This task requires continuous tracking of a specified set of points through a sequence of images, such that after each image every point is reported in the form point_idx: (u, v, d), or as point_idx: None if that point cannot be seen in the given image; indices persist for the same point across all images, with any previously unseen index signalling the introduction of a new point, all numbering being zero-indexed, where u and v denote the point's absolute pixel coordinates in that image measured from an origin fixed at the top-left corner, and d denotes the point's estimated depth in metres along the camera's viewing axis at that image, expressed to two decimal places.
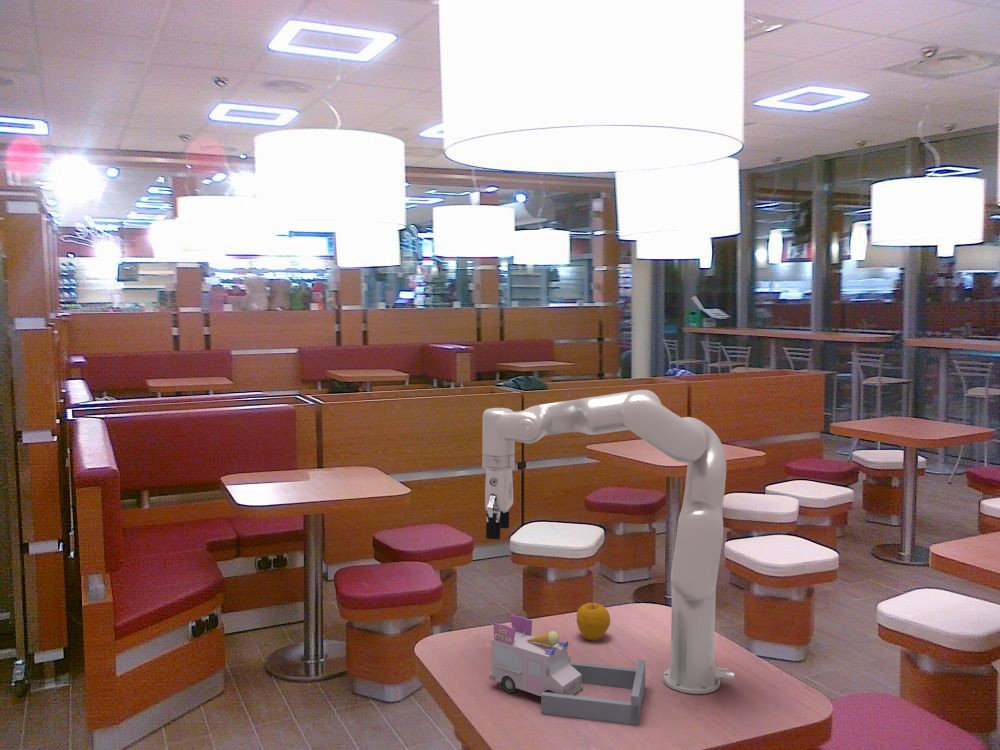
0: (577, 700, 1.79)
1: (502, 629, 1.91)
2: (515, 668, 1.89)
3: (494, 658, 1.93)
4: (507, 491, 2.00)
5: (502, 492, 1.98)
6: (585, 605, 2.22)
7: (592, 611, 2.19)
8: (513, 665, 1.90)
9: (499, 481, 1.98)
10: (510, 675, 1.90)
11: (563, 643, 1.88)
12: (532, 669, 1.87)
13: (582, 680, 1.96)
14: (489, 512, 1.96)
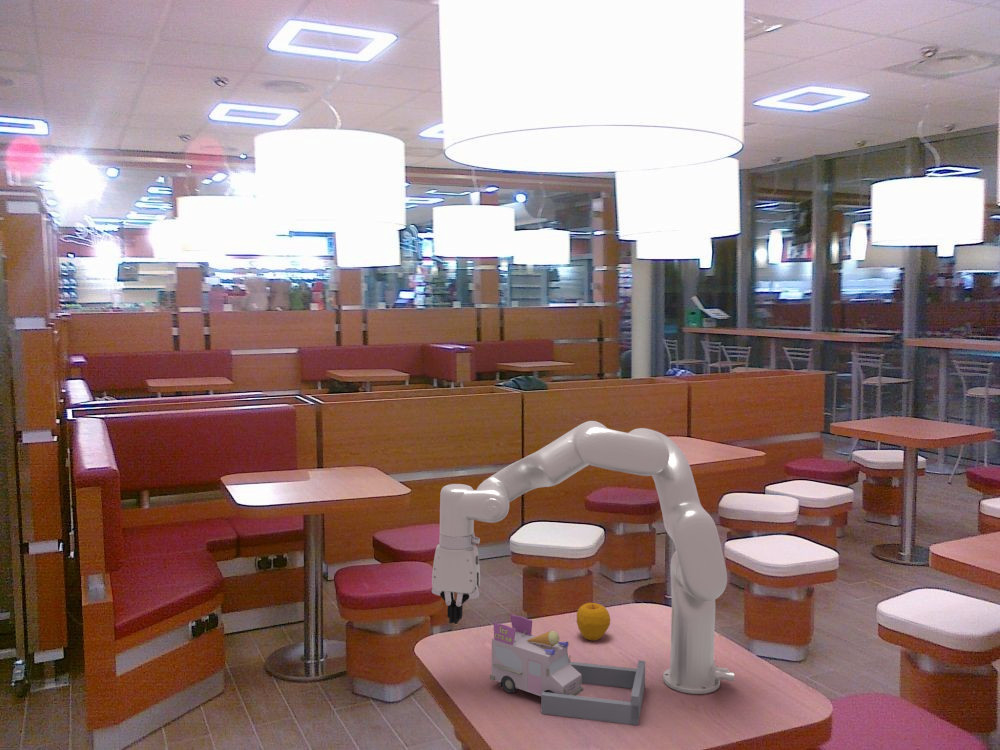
0: (577, 700, 1.79)
1: (502, 629, 1.91)
2: (515, 668, 1.89)
3: (494, 658, 1.93)
4: None
5: (479, 567, 1.94)
6: (585, 605, 2.22)
7: (592, 611, 2.19)
8: (513, 665, 1.90)
9: (478, 557, 1.93)
10: (510, 675, 1.90)
11: (563, 643, 1.88)
12: (532, 669, 1.87)
13: (582, 680, 1.96)
14: None
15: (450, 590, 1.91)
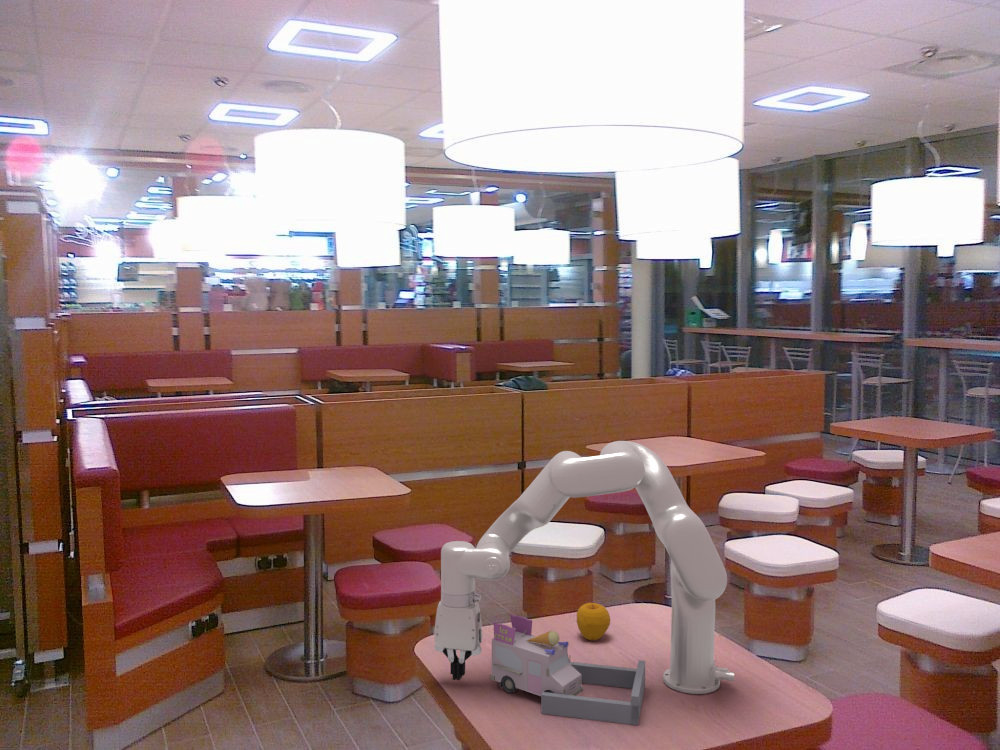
0: (577, 700, 1.79)
1: (502, 629, 1.91)
2: (515, 668, 1.89)
3: (494, 658, 1.93)
4: None
5: (481, 623, 1.95)
6: (585, 605, 2.22)
7: (592, 611, 2.19)
8: (513, 665, 1.90)
9: (480, 614, 1.94)
10: (510, 675, 1.90)
11: (563, 643, 1.88)
12: (532, 669, 1.87)
13: (582, 680, 1.96)
14: None
15: (453, 647, 1.93)
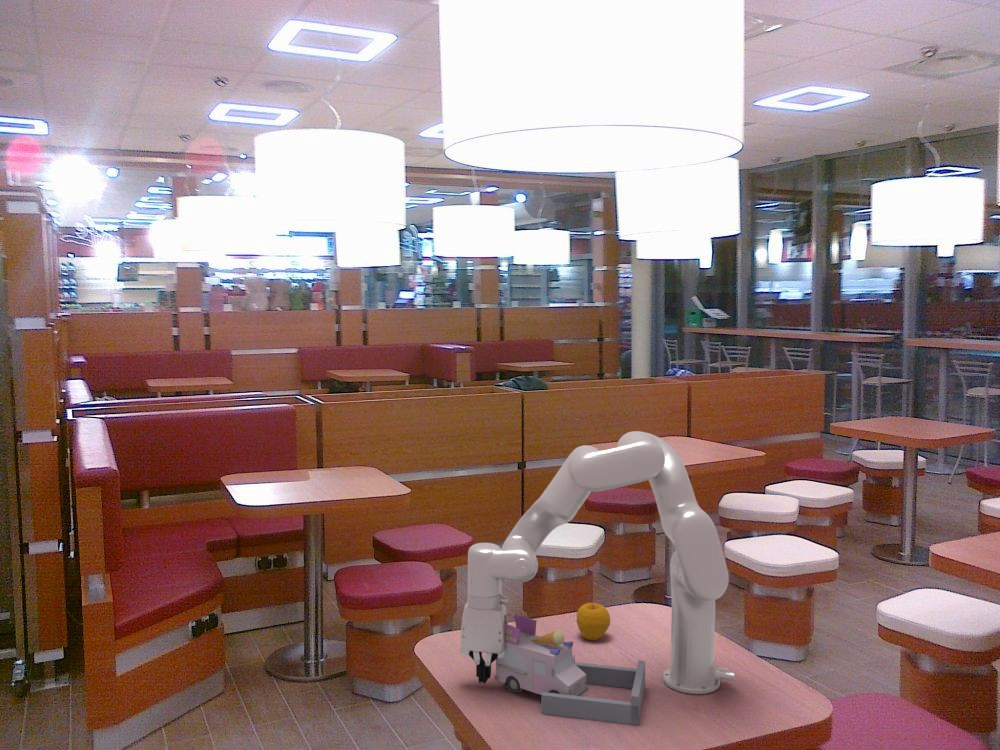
0: (577, 700, 1.79)
1: (507, 629, 1.91)
2: (520, 668, 1.89)
3: (498, 658, 1.92)
4: None
5: None
6: (585, 605, 2.22)
7: (592, 611, 2.19)
8: (518, 666, 1.89)
9: (506, 616, 1.92)
10: (515, 675, 1.90)
11: (568, 643, 1.88)
12: (537, 669, 1.86)
13: None
14: None
15: (479, 650, 1.91)
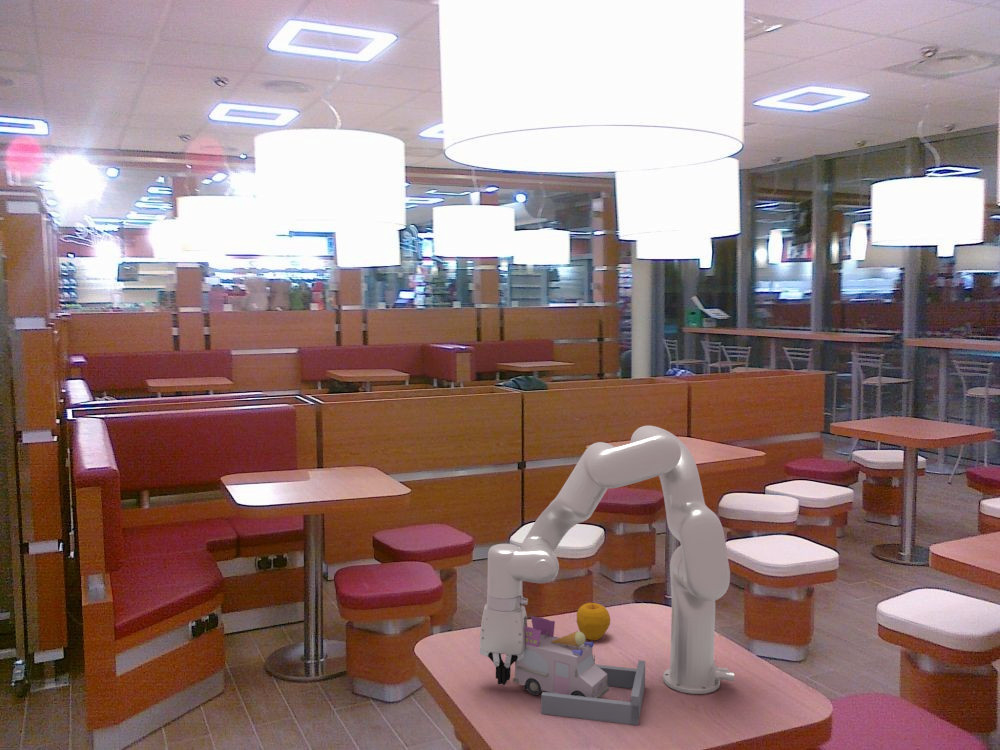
0: (577, 700, 1.79)
1: (526, 631, 1.90)
2: (541, 670, 1.88)
3: (518, 661, 1.91)
4: None
5: None
6: (585, 605, 2.22)
7: (592, 611, 2.19)
8: (538, 667, 1.88)
9: (526, 618, 1.91)
10: (535, 677, 1.89)
11: (589, 643, 1.88)
12: (559, 670, 1.86)
13: None
14: None
15: (498, 651, 1.90)
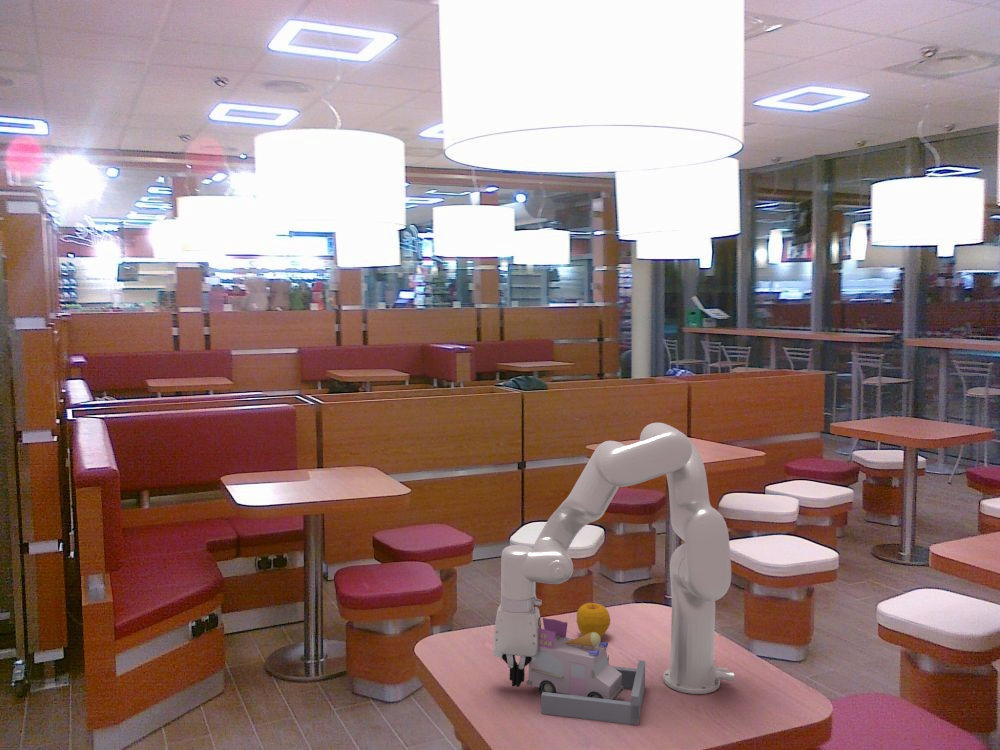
0: (577, 700, 1.79)
1: (541, 633, 1.89)
2: (556, 672, 1.87)
3: (532, 663, 1.90)
4: None
5: None
6: (585, 605, 2.22)
7: (592, 611, 2.19)
8: (553, 669, 1.88)
9: (540, 619, 1.91)
10: (550, 679, 1.88)
11: (603, 644, 1.88)
12: (574, 672, 1.85)
13: None
14: None
15: (512, 653, 1.89)
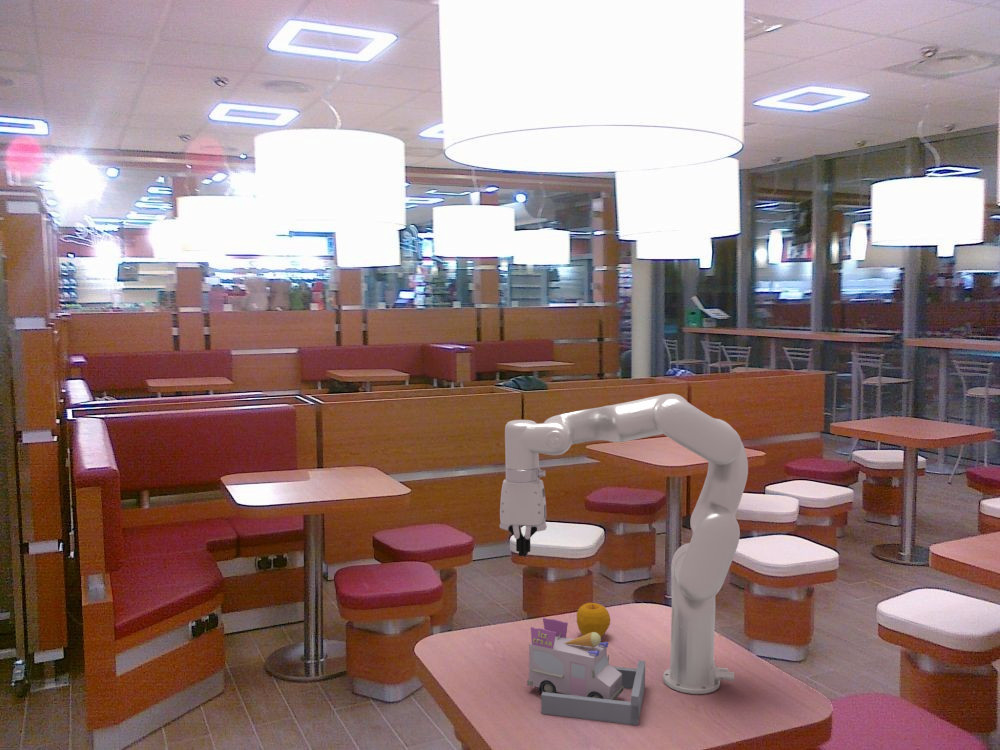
0: (577, 700, 1.79)
1: (541, 633, 1.89)
2: (556, 672, 1.87)
3: (532, 663, 1.90)
4: None
5: None
6: (585, 605, 2.22)
7: (592, 611, 2.19)
8: (554, 669, 1.88)
9: (544, 490, 1.97)
10: (550, 679, 1.88)
11: (603, 643, 1.88)
12: (575, 672, 1.85)
13: None
14: None
15: (519, 523, 1.95)
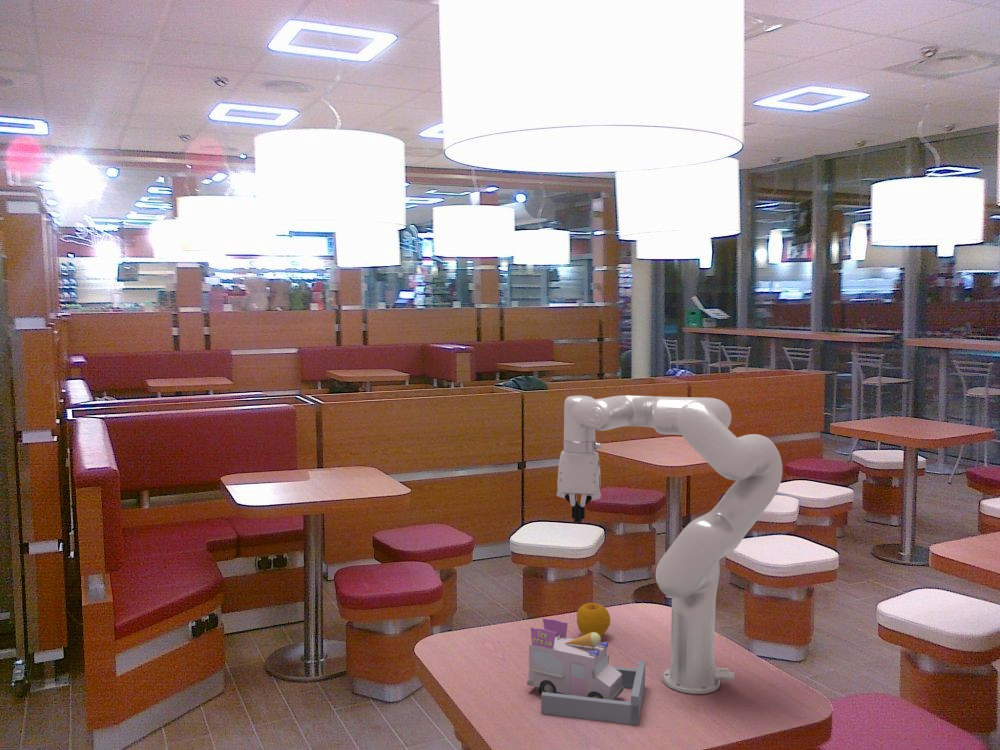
0: (577, 700, 1.79)
1: (541, 633, 1.89)
2: (556, 672, 1.87)
3: (532, 663, 1.90)
4: None
5: None
6: (585, 605, 2.22)
7: (592, 611, 2.19)
8: (554, 669, 1.88)
9: (599, 462, 2.11)
10: (550, 679, 1.88)
11: (603, 644, 1.88)
12: (575, 672, 1.85)
13: None
14: None
15: (575, 492, 2.10)
